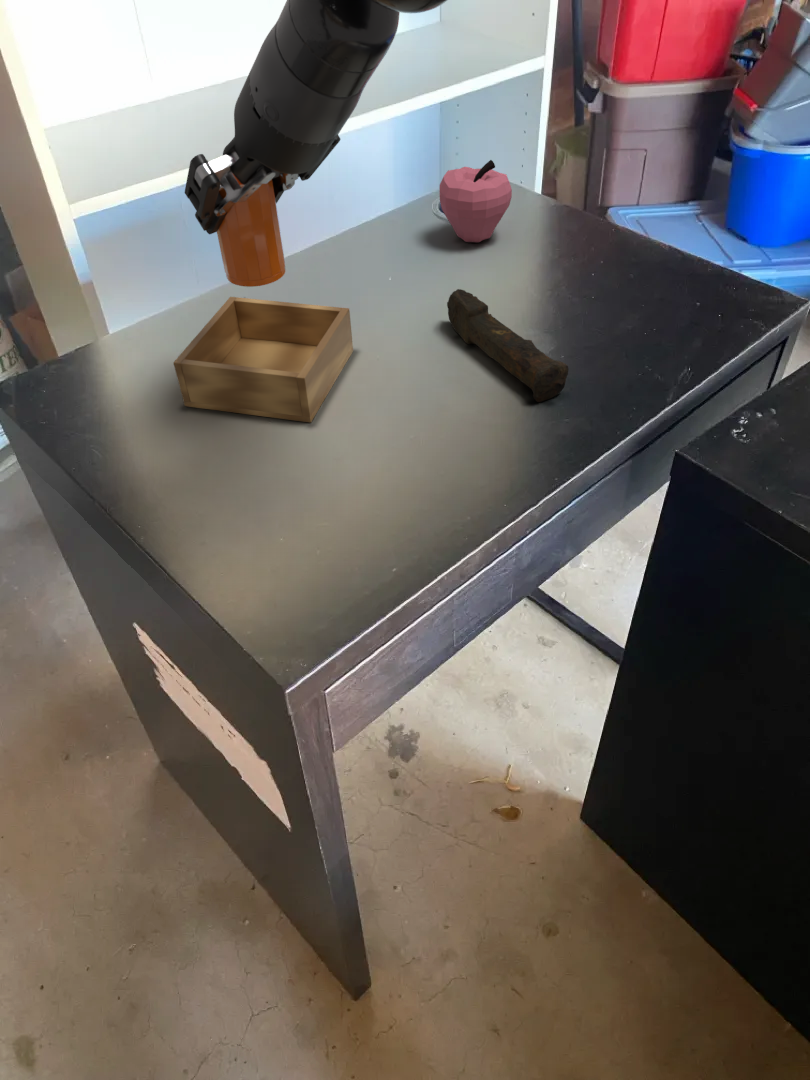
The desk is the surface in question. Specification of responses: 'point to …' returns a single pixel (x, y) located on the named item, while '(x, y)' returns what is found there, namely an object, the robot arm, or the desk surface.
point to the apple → (475, 200)
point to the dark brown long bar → (506, 346)
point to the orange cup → (252, 239)
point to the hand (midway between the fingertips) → (234, 212)
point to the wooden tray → (266, 358)
